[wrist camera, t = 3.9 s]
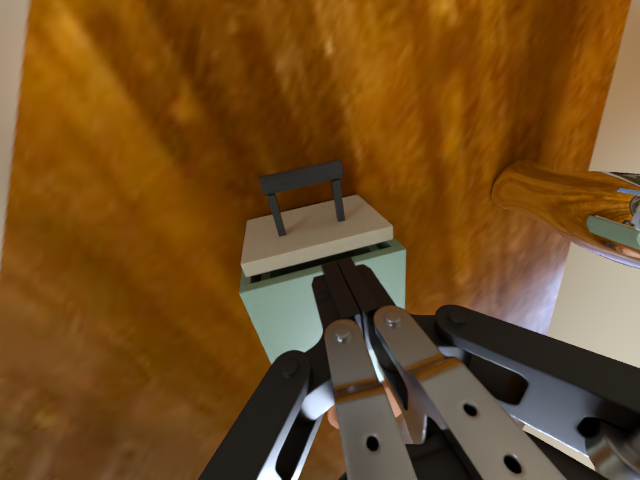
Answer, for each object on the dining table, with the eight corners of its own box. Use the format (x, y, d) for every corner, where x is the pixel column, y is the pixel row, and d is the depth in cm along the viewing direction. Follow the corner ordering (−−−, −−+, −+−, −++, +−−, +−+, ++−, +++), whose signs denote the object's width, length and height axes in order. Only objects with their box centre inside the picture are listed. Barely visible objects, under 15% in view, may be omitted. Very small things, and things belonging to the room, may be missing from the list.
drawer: (229, 170, 21) (212, 198, 14) (353, 143, 22) (392, 158, 15) (284, 325, 31) (290, 385, 24) (367, 302, 32) (394, 353, 25)
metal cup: (534, 199, 31) (729, 263, 18) (485, 219, 31) (646, 297, 18) (544, 145, 27) (795, 176, 14) (488, 167, 27) (692, 218, 14)
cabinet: (247, 232, 25) (238, 293, 17) (361, 205, 26) (406, 248, 18) (284, 335, 33) (291, 410, 25) (369, 310, 34) (403, 374, 26)
